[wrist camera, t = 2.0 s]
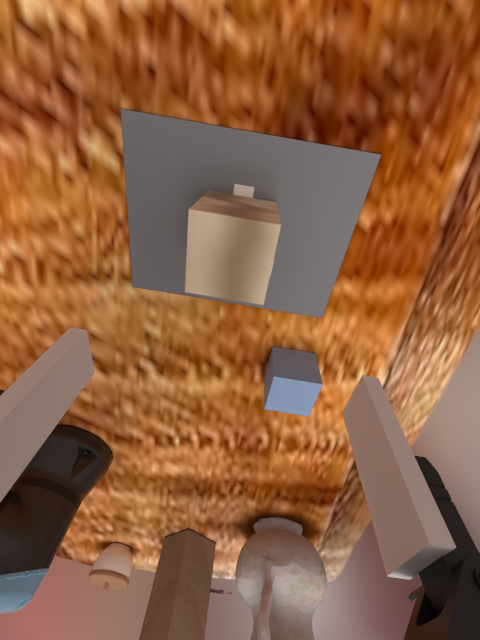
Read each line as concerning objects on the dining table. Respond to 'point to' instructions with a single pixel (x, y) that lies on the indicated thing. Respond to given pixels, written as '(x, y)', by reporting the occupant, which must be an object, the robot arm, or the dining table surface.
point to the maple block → (231, 246)
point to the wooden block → (180, 589)
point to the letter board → (249, 181)
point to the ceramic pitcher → (280, 580)
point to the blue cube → (291, 381)
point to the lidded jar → (112, 567)
